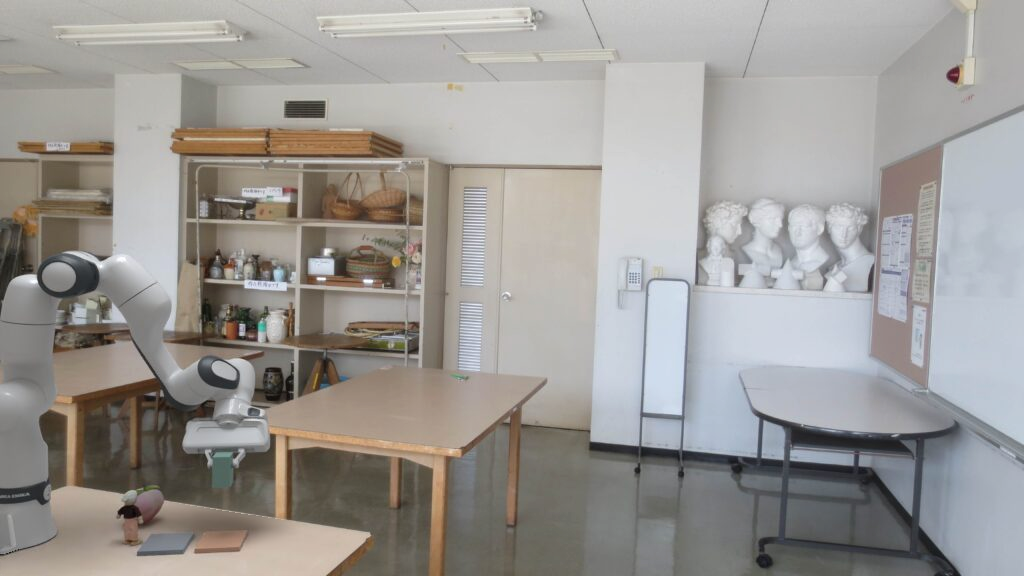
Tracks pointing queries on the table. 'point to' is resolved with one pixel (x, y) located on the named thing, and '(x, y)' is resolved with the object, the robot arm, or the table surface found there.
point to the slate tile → (166, 543)
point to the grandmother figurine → (130, 518)
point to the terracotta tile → (221, 541)
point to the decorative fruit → (149, 501)
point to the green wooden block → (222, 470)
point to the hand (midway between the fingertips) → (222, 467)
